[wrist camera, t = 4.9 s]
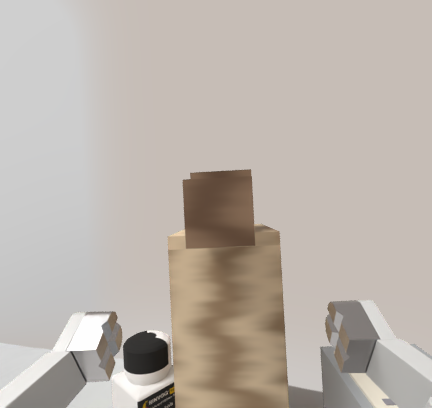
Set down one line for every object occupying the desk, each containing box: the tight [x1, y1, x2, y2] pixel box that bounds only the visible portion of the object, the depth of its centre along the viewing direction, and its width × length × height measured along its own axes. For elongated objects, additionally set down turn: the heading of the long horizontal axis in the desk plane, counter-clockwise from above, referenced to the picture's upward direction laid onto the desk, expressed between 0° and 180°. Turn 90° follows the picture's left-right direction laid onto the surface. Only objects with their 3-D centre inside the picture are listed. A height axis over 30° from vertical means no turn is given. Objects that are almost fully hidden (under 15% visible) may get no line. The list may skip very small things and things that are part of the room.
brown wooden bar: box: [183, 170, 255, 249], centre depth 25 cm, size 6×18×6 cm, turn 178°
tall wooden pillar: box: [168, 224, 289, 408], centre depth 32 cm, size 10×14×26 cm
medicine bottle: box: [112, 330, 175, 408], centre depth 37 cm, size 7×7×12 cm
